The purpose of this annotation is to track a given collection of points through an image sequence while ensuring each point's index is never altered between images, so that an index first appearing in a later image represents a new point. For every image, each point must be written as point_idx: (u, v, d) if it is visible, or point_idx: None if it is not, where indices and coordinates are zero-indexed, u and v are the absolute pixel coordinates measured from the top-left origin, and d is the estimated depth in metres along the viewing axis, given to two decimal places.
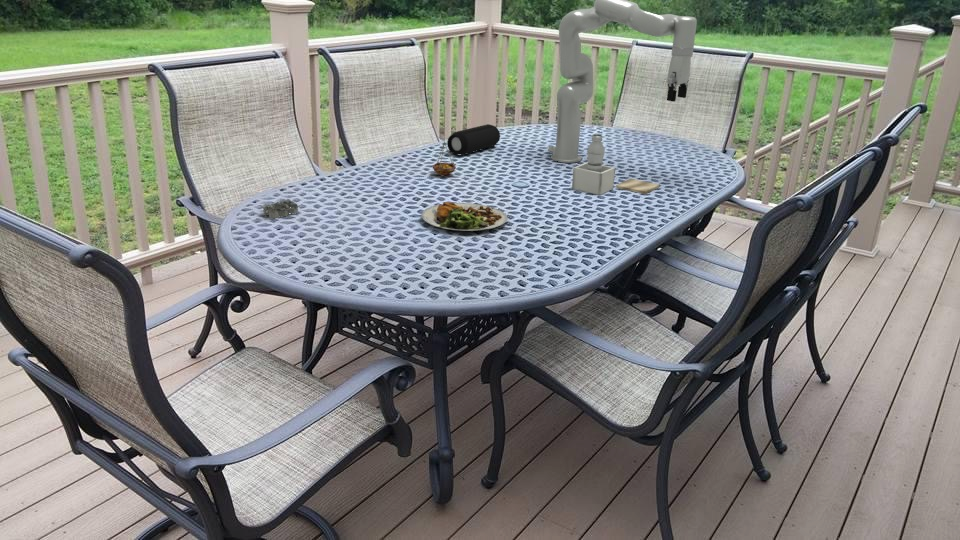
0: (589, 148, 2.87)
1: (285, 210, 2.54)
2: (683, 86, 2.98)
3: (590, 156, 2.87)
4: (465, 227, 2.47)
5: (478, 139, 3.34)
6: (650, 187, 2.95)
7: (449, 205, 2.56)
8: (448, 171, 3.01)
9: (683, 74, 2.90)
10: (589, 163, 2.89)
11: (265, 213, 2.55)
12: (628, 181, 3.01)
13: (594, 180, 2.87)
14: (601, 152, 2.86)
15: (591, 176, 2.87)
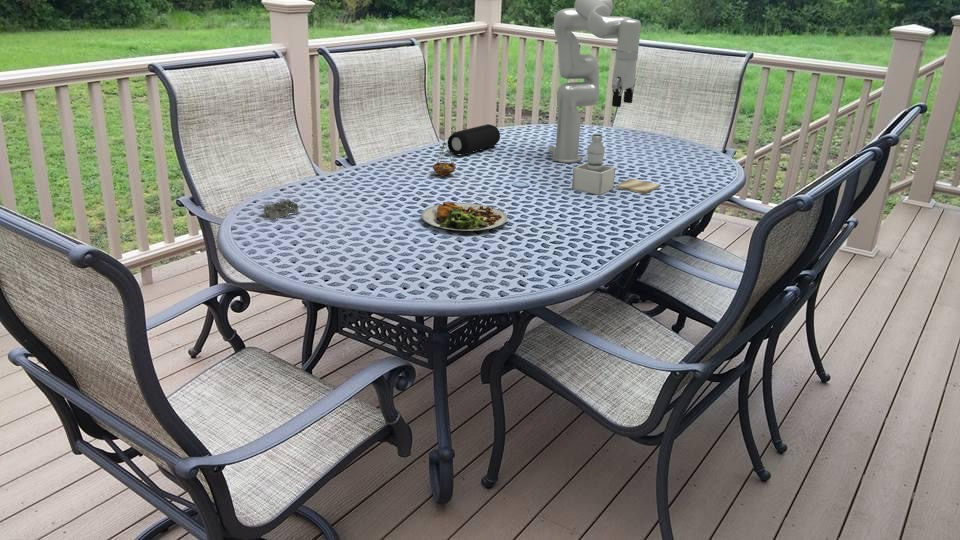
0: (589, 148, 2.87)
1: (286, 210, 2.54)
2: (629, 91, 2.88)
3: (590, 156, 2.87)
4: (465, 227, 2.47)
5: (478, 139, 3.34)
6: (650, 187, 2.95)
7: (449, 205, 2.56)
8: (448, 171, 3.01)
9: (628, 79, 2.80)
10: (589, 163, 2.89)
11: (265, 213, 2.55)
12: (628, 181, 3.01)
13: (594, 180, 2.87)
14: (601, 152, 2.86)
15: (591, 176, 2.87)
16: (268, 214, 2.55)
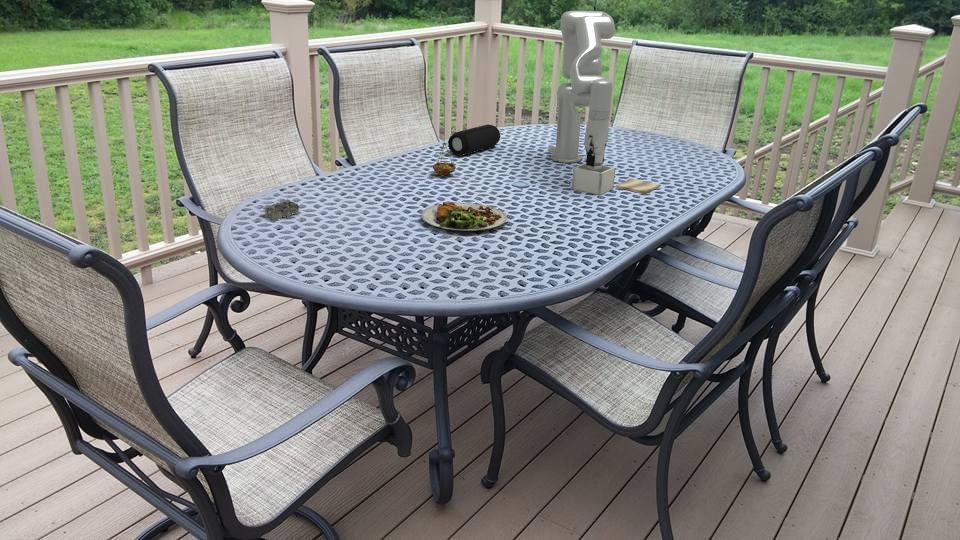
0: None
1: (288, 210, 2.54)
2: None
3: None
4: (465, 227, 2.47)
5: (479, 139, 3.34)
6: (650, 187, 2.95)
7: (449, 205, 2.56)
8: (448, 171, 3.01)
9: (600, 137, 2.84)
10: None
11: (267, 214, 2.54)
12: (628, 181, 3.01)
13: (594, 180, 2.87)
14: (601, 152, 2.86)
15: (591, 176, 2.87)
16: (270, 215, 2.54)
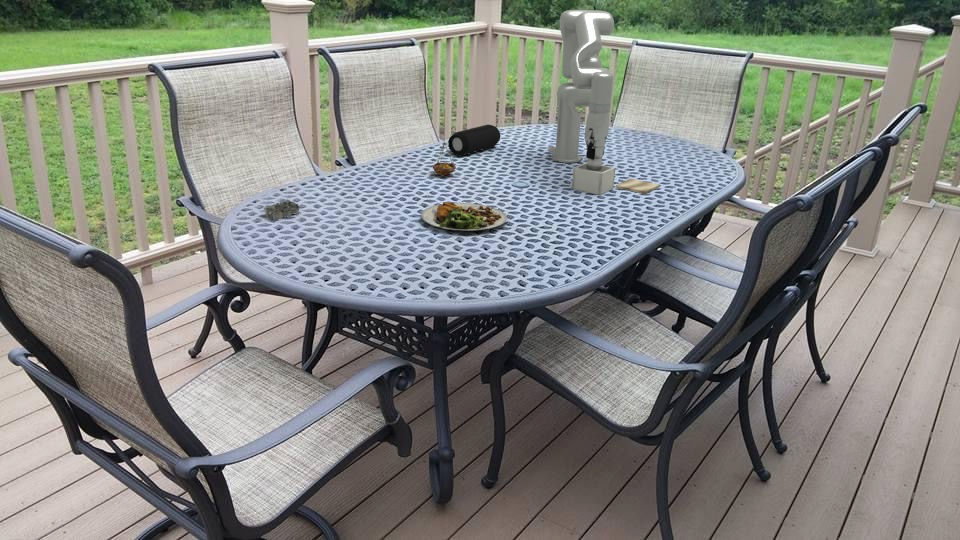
0: None
1: (288, 211, 2.54)
2: None
3: None
4: (465, 227, 2.47)
5: (479, 139, 3.34)
6: (650, 187, 2.95)
7: (449, 205, 2.56)
8: (448, 171, 3.01)
9: (600, 130, 2.83)
10: None
11: (268, 214, 2.54)
12: (628, 181, 3.01)
13: (594, 180, 2.87)
14: (601, 145, 2.86)
15: (591, 176, 2.87)
16: (270, 215, 2.54)
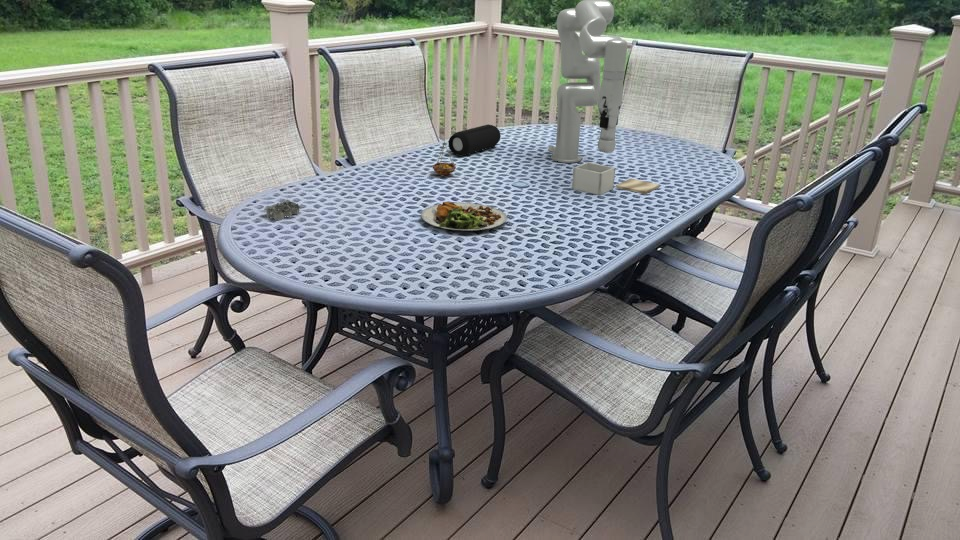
0: None
1: (289, 211, 2.54)
2: None
3: None
4: (464, 227, 2.47)
5: (479, 139, 3.34)
6: (650, 187, 2.95)
7: (449, 205, 2.56)
8: (448, 171, 3.01)
9: (614, 99, 2.79)
10: None
11: (269, 215, 2.53)
12: (628, 181, 3.01)
13: (594, 180, 2.87)
14: (615, 114, 2.82)
15: (591, 176, 2.87)
16: (271, 215, 2.54)
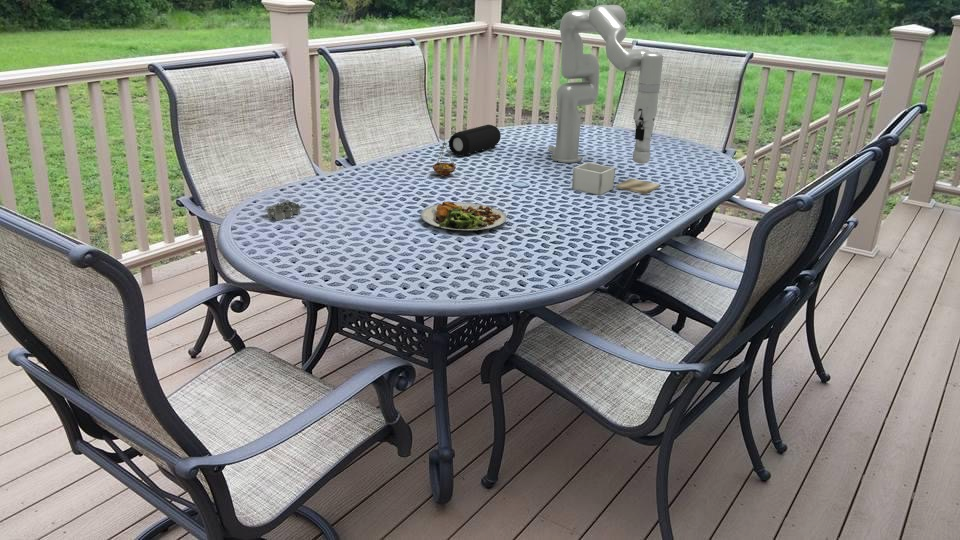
0: None
1: (290, 211, 2.54)
2: None
3: None
4: (464, 227, 2.47)
5: (480, 139, 3.34)
6: (650, 187, 2.95)
7: (448, 205, 2.56)
8: (448, 171, 3.01)
9: (650, 111, 2.84)
10: None
11: (270, 215, 2.53)
12: (628, 181, 3.01)
13: (594, 180, 2.87)
14: (650, 126, 2.86)
15: (591, 176, 2.87)
16: (272, 216, 2.53)
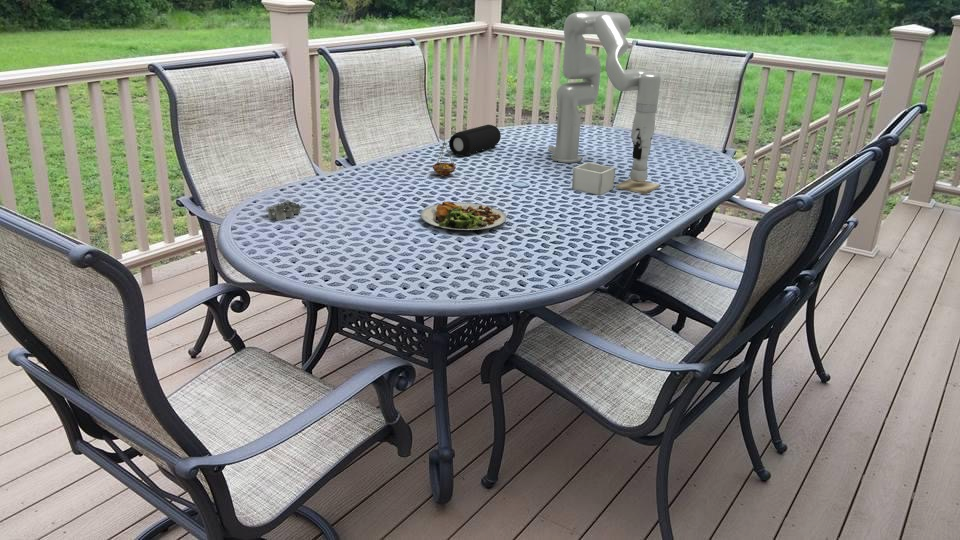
0: None
1: (291, 211, 2.54)
2: None
3: None
4: (464, 226, 2.47)
5: (480, 139, 3.34)
6: (650, 187, 2.95)
7: (448, 204, 2.56)
8: (448, 171, 3.01)
9: (647, 130, 2.87)
10: None
11: (271, 216, 2.53)
12: (628, 181, 3.01)
13: (594, 180, 2.87)
14: (648, 145, 2.89)
15: (591, 176, 2.87)
16: (273, 216, 2.53)
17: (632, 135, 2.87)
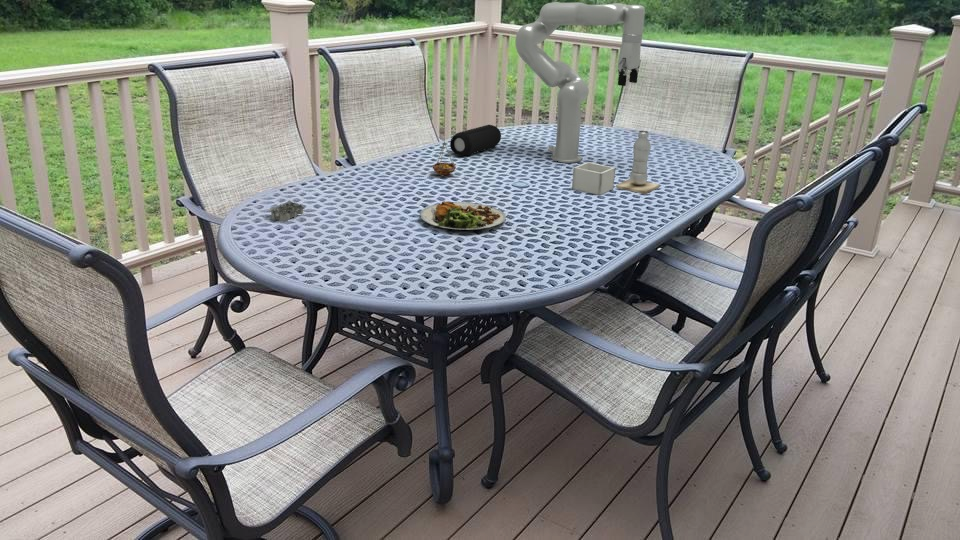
0: (635, 144, 2.90)
1: (294, 211, 2.53)
2: (634, 72, 3.13)
3: (637, 152, 2.91)
4: (463, 226, 2.47)
5: (481, 139, 3.33)
6: (650, 187, 2.95)
7: (448, 204, 2.56)
8: (448, 171, 3.01)
9: (633, 60, 3.05)
10: (635, 159, 2.92)
11: (274, 217, 2.52)
12: (628, 181, 3.01)
13: (594, 180, 2.87)
14: (647, 148, 2.90)
15: (591, 176, 2.87)
16: (276, 217, 2.52)
17: None
